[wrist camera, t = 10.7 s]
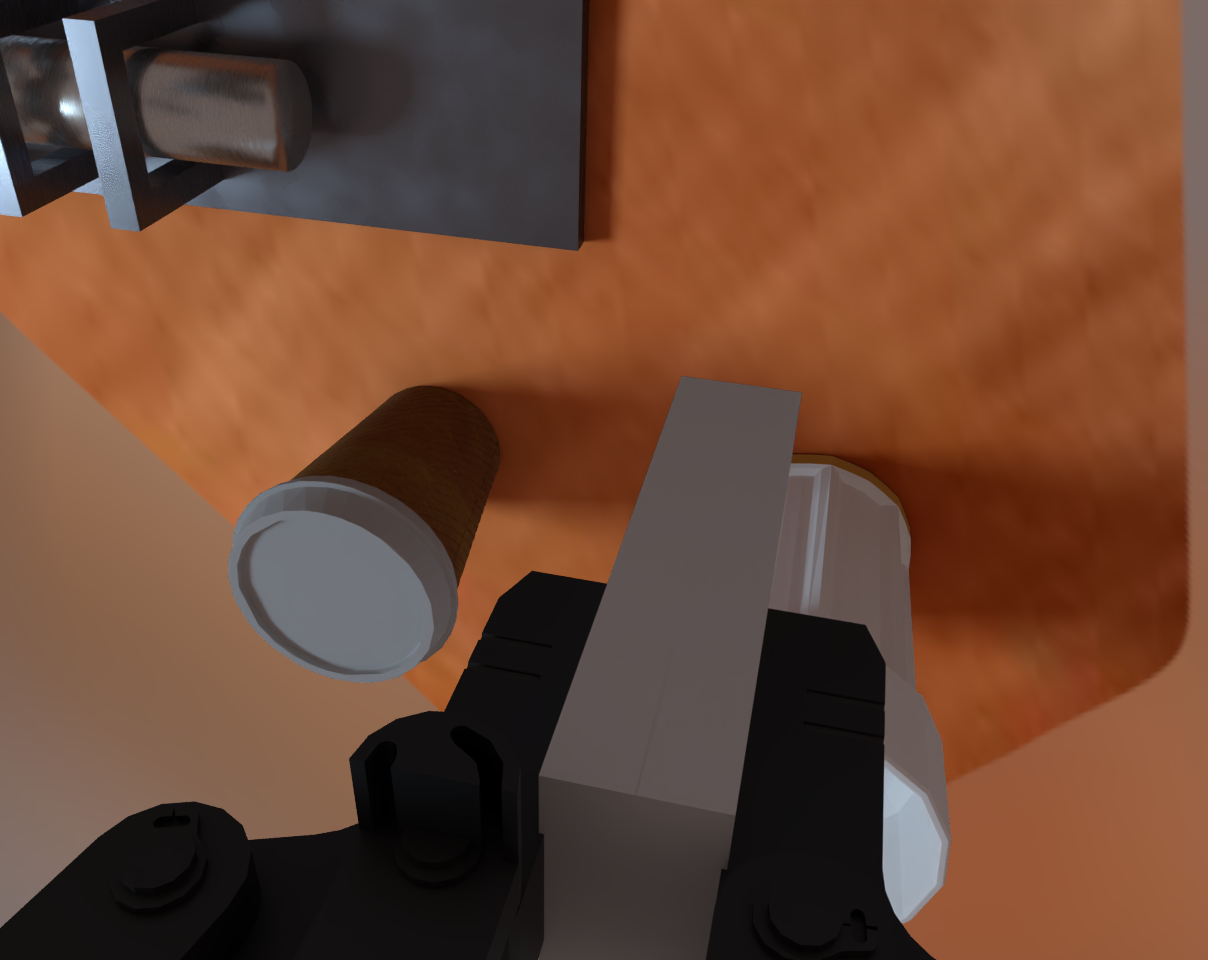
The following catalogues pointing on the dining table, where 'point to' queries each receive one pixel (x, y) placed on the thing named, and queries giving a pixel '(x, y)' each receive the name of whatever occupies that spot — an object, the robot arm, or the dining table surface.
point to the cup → (881, 602)
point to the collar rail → (336, 113)
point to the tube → (171, 103)
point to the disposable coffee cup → (369, 540)
